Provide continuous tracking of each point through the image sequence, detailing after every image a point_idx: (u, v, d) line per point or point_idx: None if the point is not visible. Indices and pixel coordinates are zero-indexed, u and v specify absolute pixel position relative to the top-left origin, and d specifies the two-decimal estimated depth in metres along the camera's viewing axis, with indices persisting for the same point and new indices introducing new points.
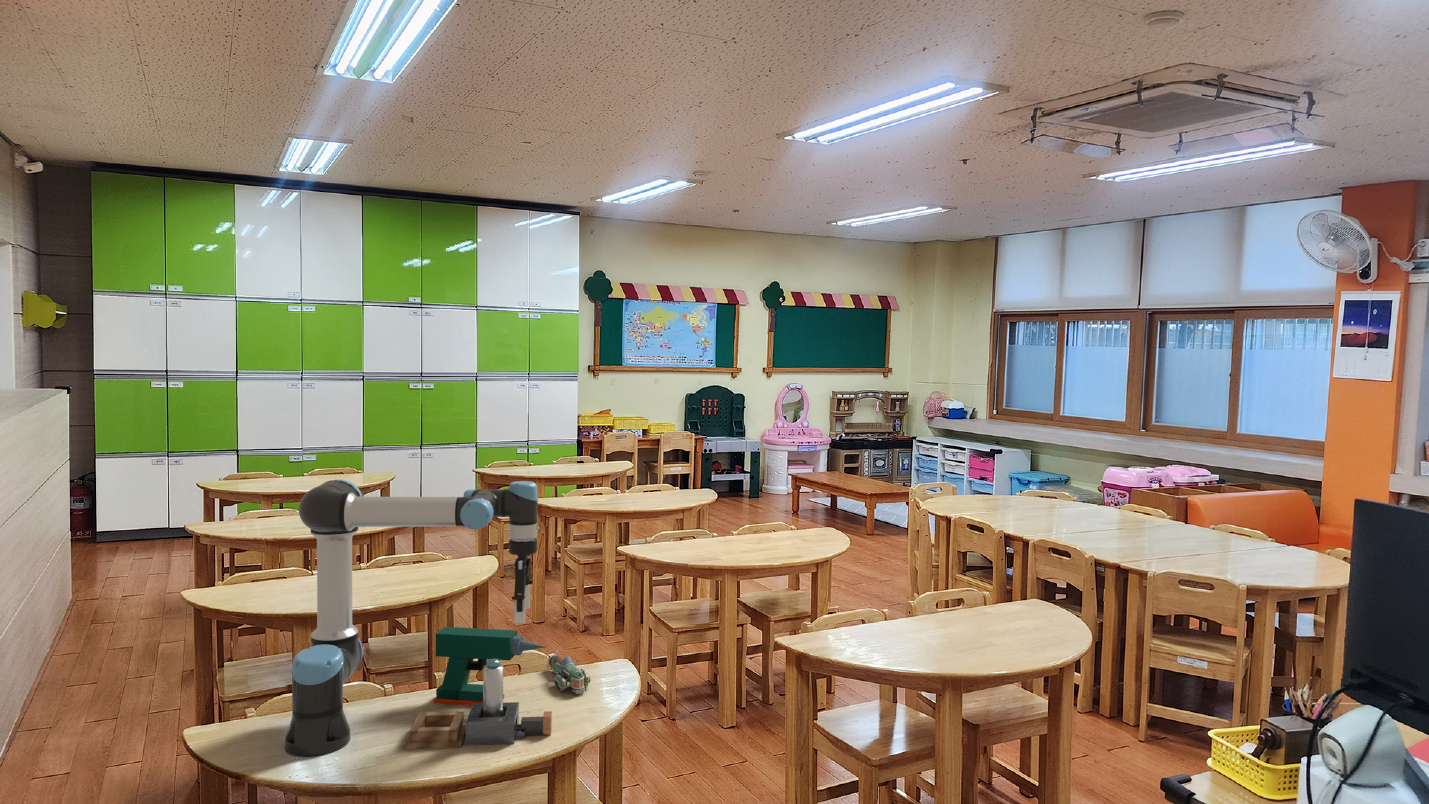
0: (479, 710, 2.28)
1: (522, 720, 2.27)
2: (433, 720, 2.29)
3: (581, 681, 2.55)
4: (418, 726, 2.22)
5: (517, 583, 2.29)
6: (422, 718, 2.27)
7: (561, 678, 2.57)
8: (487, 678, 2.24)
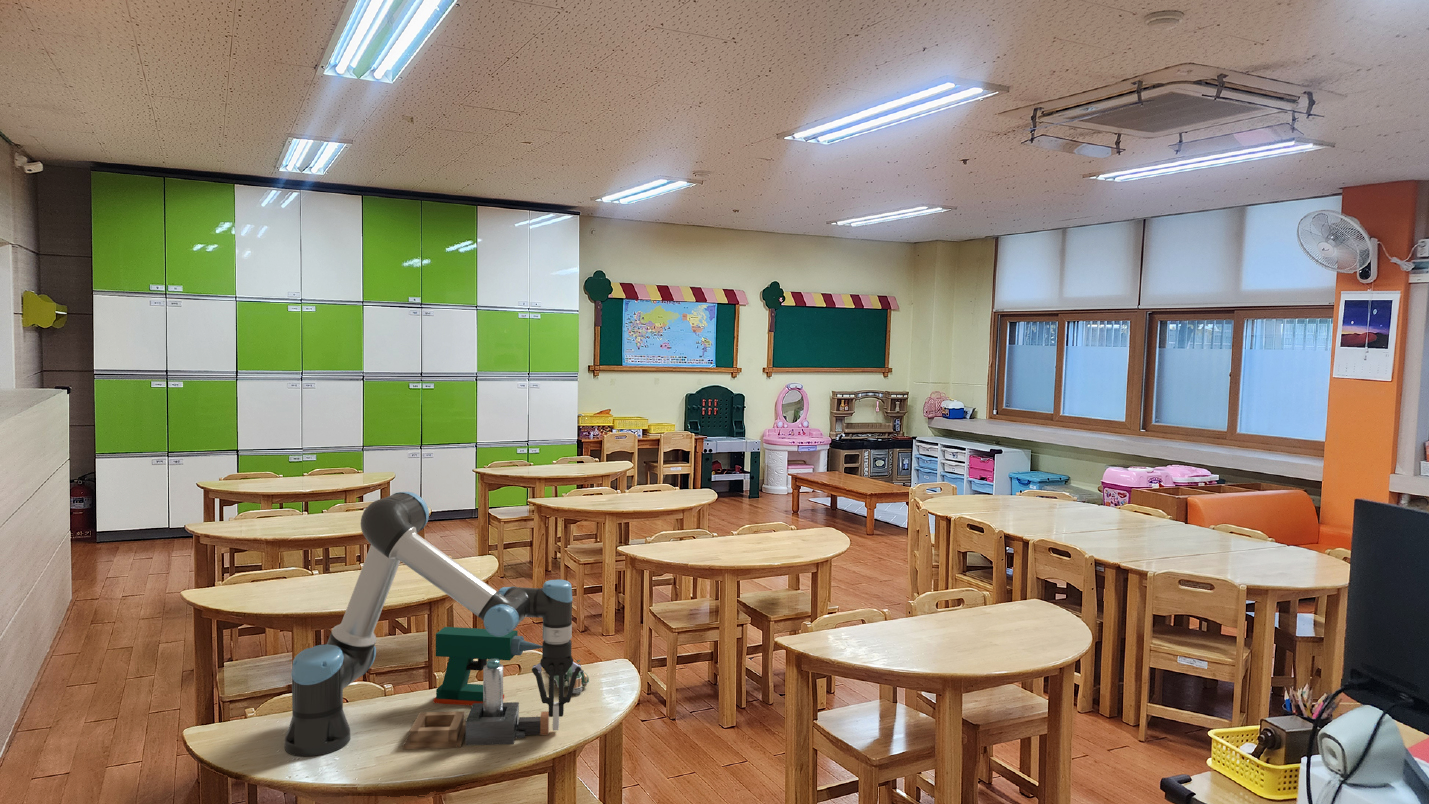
0: (479, 710, 2.28)
1: (519, 720, 2.27)
2: (433, 720, 2.29)
3: (578, 681, 2.55)
4: (418, 726, 2.22)
5: None
6: (422, 718, 2.27)
7: None
8: (487, 678, 2.24)
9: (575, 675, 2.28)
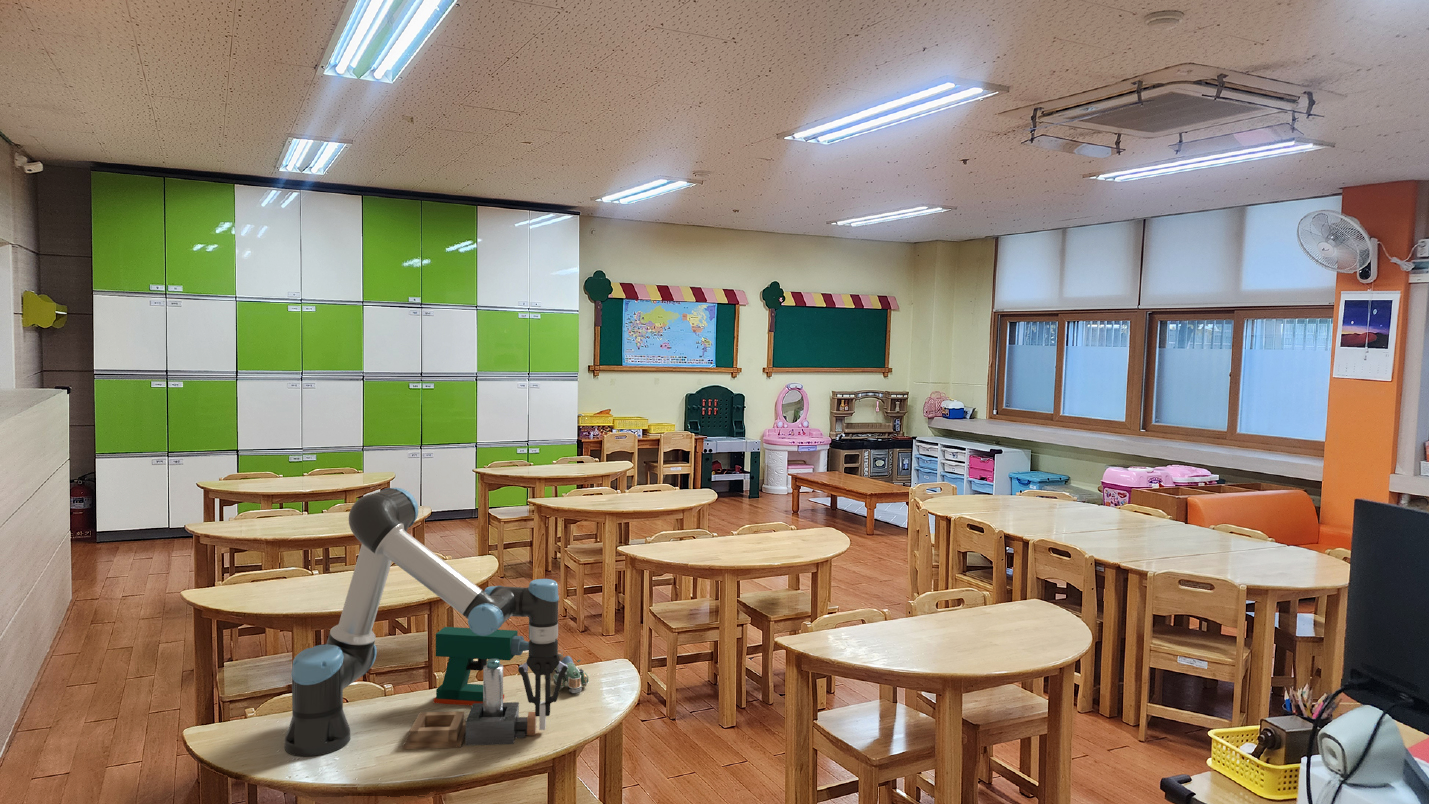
0: (479, 710, 2.28)
1: None
2: (433, 720, 2.29)
3: (577, 681, 2.55)
4: (418, 726, 2.22)
5: None
6: (422, 718, 2.27)
7: None
8: (487, 678, 2.24)
9: (561, 674, 2.27)
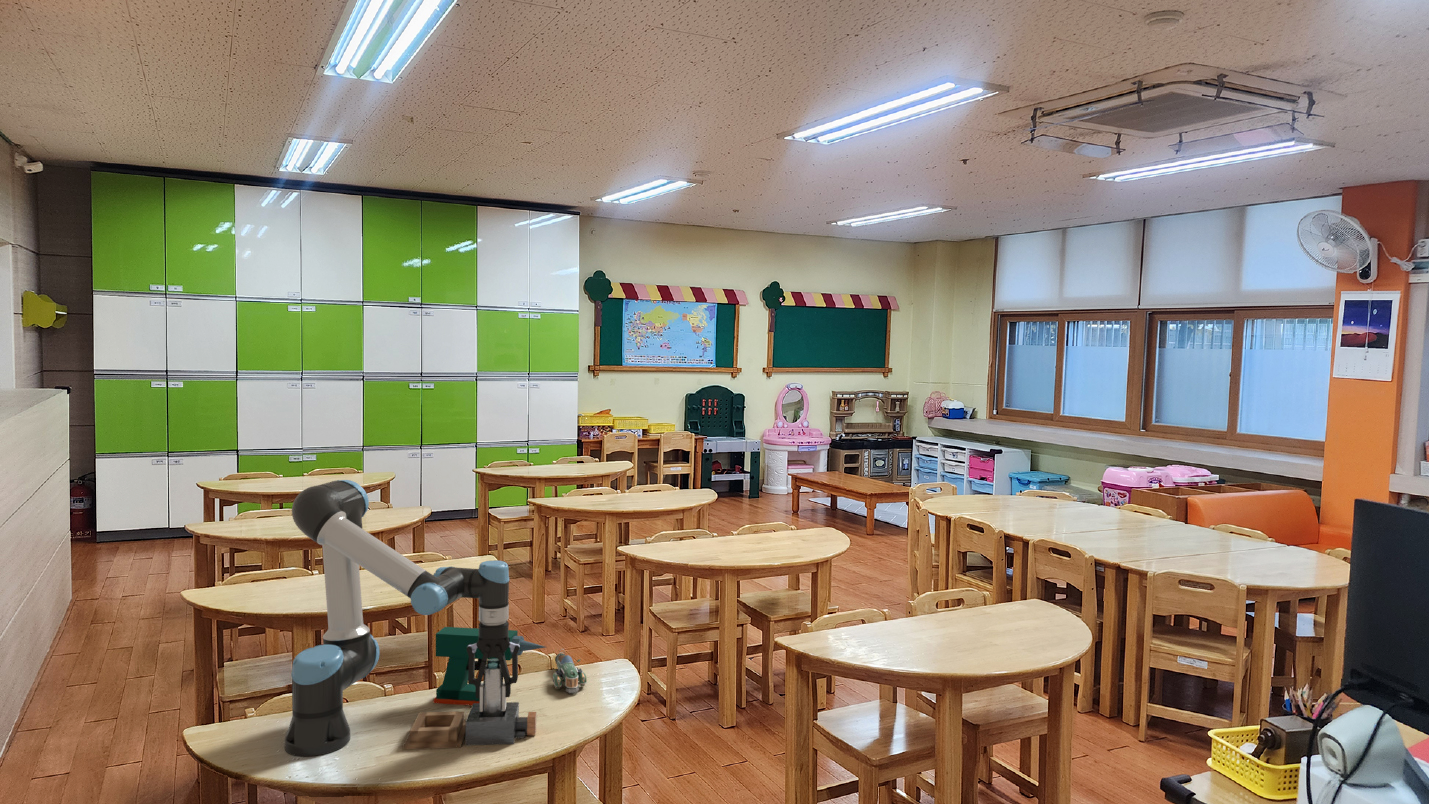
0: (479, 710, 2.28)
1: None
2: (433, 720, 2.29)
3: (574, 681, 2.55)
4: (418, 726, 2.22)
5: None
6: (422, 718, 2.27)
7: (556, 676, 2.58)
8: (487, 678, 2.24)
9: (515, 654, 2.26)
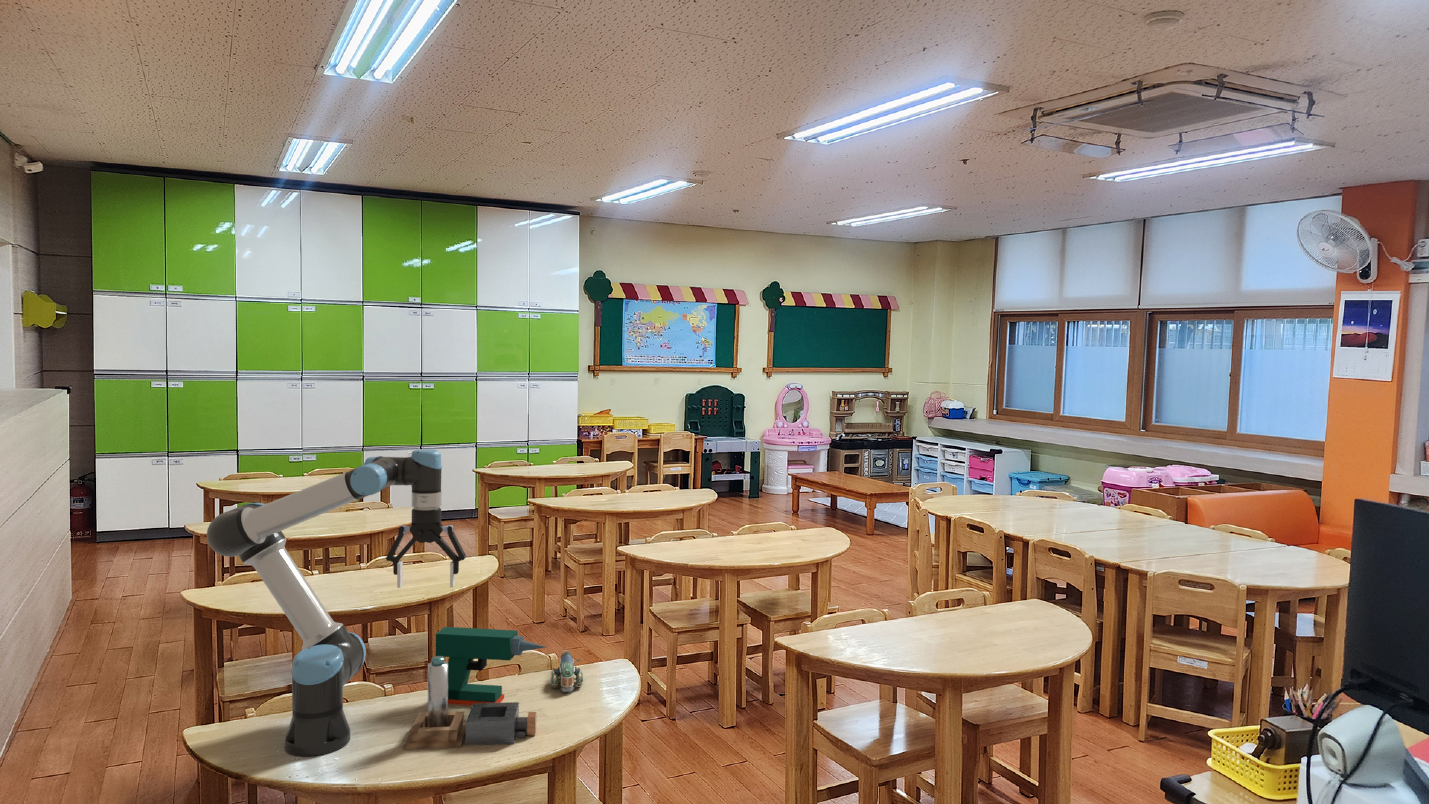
0: (479, 710, 2.28)
1: None
2: None
3: (568, 680, 2.55)
4: (418, 726, 2.22)
5: None
6: (422, 718, 2.27)
7: (553, 675, 2.59)
8: (431, 675, 2.23)
9: (451, 534, 2.32)
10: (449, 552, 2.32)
